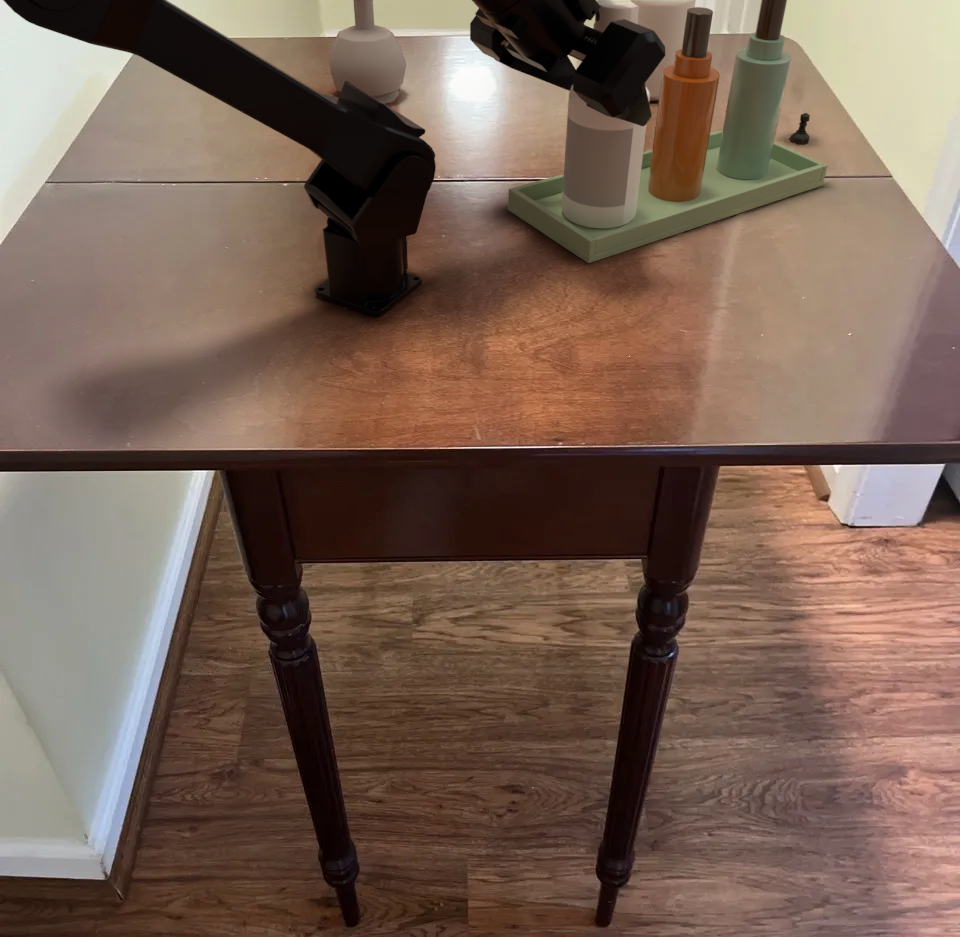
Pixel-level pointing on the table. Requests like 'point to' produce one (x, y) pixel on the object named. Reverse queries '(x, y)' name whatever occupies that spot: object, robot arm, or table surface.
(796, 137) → the chess pawn
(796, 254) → the table surface
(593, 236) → the tray
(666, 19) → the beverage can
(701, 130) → the amber bottle
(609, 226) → the spray bottle
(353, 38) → the potion bottle
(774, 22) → the celadon bottle
